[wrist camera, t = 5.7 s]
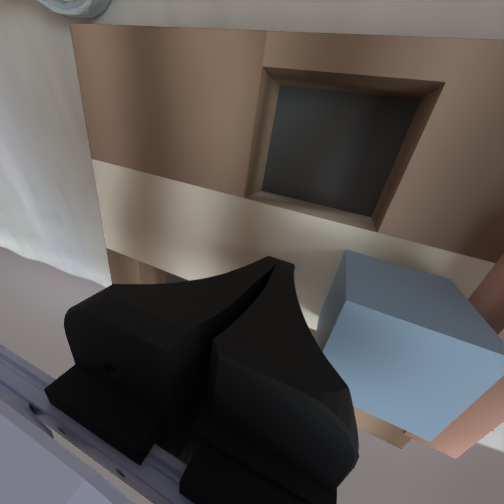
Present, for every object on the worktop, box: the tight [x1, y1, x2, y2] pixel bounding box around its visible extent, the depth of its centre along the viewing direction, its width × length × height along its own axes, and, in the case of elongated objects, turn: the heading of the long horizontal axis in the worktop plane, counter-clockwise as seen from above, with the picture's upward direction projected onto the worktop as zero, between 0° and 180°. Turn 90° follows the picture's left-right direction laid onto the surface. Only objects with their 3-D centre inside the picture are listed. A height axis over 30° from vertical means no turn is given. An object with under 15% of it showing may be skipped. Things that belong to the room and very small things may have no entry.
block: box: [315, 249, 504, 442], centre depth 8 cm, size 4×4×4 cm
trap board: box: [69, 23, 504, 458], centre depth 12 cm, size 22×18×5 cm
